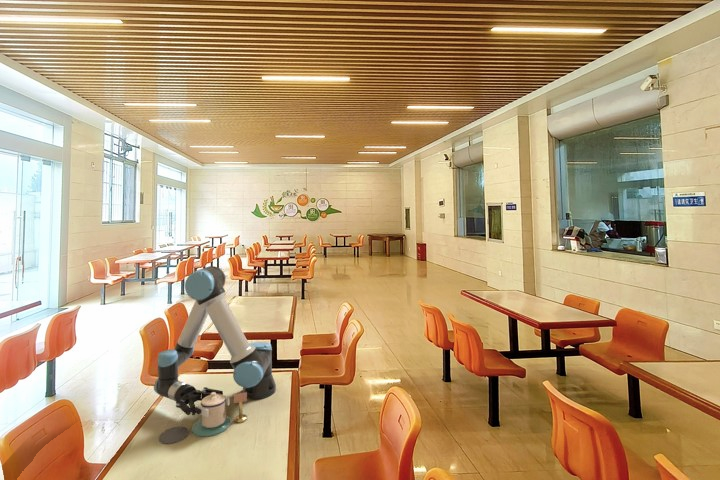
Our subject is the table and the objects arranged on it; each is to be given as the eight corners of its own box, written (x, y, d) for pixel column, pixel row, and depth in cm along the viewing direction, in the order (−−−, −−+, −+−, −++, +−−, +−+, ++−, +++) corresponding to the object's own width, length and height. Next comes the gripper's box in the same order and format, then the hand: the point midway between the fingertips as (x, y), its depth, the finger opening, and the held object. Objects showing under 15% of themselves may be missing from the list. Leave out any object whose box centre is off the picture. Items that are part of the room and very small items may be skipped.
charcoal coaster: (190, 426, 143) (190, 424, 143) (187, 440, 134) (187, 438, 134) (161, 431, 140) (161, 429, 140) (156, 446, 131) (156, 444, 131)
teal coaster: (230, 413, 152) (230, 411, 152) (230, 432, 139) (230, 430, 139) (193, 420, 147) (193, 418, 147) (190, 440, 134) (190, 438, 134)
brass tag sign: (247, 415, 151) (246, 389, 150) (247, 421, 146) (247, 394, 146) (234, 417, 149) (233, 391, 149) (234, 424, 145) (233, 396, 144)
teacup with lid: (229, 422, 142) (229, 393, 141) (205, 431, 136) (204, 401, 135) (218, 410, 151) (218, 382, 150) (195, 417, 145) (195, 389, 144)
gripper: (205, 391, 161) (240, 404, 150) (157, 413, 143) (193, 431, 131) (204, 374, 161) (240, 386, 149) (156, 395, 142) (193, 411, 131)
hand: (218, 407), depth 140 cm, fingers closed on teacup with lid, 9 cm apart
